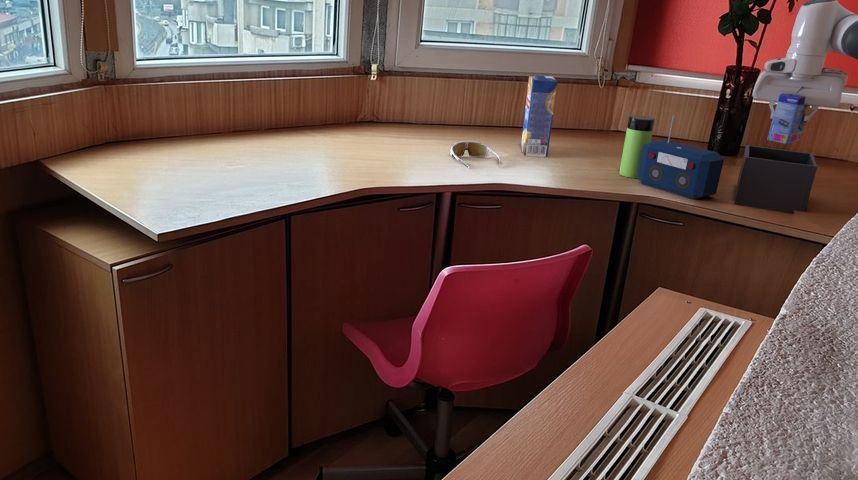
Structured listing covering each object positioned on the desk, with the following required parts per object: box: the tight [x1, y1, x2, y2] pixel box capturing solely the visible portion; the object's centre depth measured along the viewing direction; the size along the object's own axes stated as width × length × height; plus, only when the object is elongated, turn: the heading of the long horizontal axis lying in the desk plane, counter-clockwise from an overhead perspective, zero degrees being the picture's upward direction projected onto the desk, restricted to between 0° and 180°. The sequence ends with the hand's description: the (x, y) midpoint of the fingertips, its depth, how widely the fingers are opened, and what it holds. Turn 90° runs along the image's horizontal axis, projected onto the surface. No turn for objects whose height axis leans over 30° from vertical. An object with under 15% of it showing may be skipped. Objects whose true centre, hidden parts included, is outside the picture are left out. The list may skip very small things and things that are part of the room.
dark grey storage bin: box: [733, 144, 818, 214], centre depth 193 cm, size 17×18×13 cm
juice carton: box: [520, 74, 558, 158], centre depth 232 cm, size 12×8×24 cm, turn 176°
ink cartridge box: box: [766, 86, 811, 145], centre depth 187 cm, size 10×6×14 cm, turn 133°
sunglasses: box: [449, 140, 501, 169], centre depth 220 cm, size 14×15×5 cm
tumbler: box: [618, 114, 656, 179], centre depth 212 cm, size 8×8×17 cm
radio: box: [636, 115, 725, 200], centre depth 198 cm, size 21×9×20 cm, turn 35°
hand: (789, 120), depth 187 cm, fingers closed on ink cartridge box, 6 cm apart
